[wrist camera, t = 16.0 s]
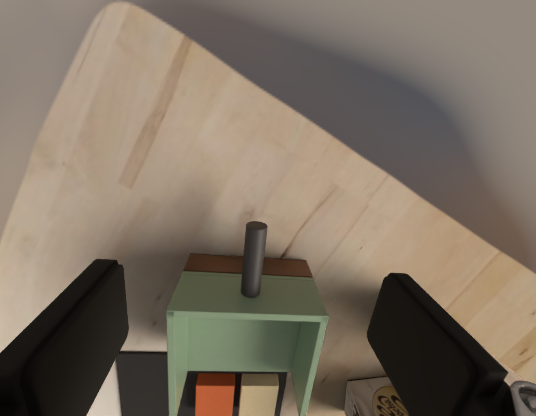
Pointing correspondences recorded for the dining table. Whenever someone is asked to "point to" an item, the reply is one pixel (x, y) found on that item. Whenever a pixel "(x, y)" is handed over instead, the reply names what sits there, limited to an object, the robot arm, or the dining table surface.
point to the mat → (156, 385)
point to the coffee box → (373, 398)
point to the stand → (236, 263)
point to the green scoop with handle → (245, 323)
